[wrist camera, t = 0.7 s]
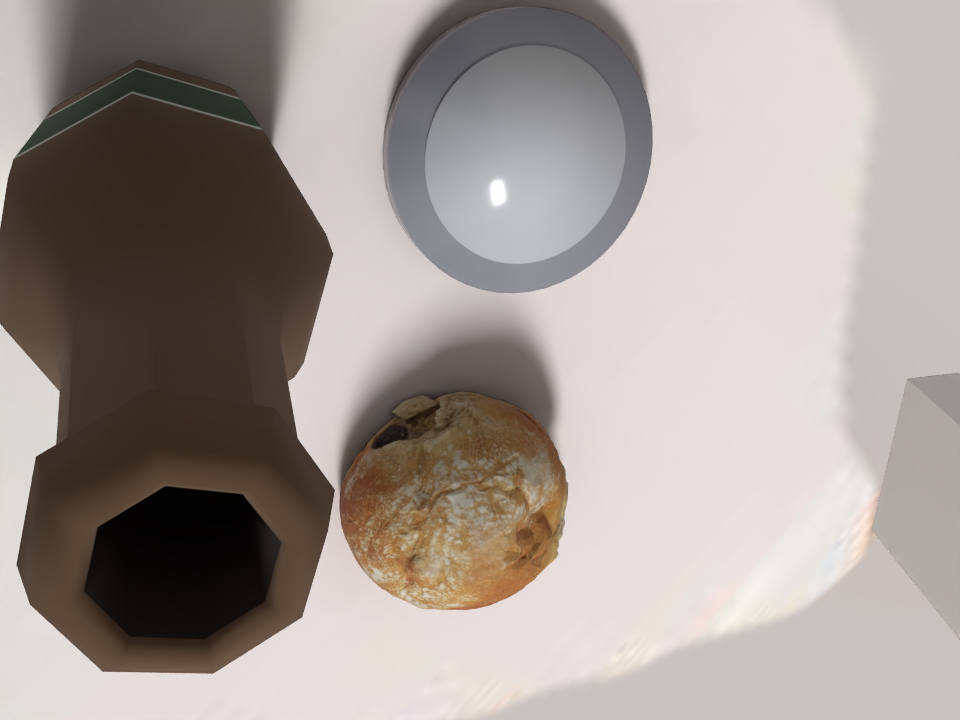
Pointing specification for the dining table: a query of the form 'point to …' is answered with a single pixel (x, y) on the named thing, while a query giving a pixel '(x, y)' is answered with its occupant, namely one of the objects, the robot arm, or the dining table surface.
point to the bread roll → (455, 502)
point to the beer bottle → (165, 372)
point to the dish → (517, 148)
